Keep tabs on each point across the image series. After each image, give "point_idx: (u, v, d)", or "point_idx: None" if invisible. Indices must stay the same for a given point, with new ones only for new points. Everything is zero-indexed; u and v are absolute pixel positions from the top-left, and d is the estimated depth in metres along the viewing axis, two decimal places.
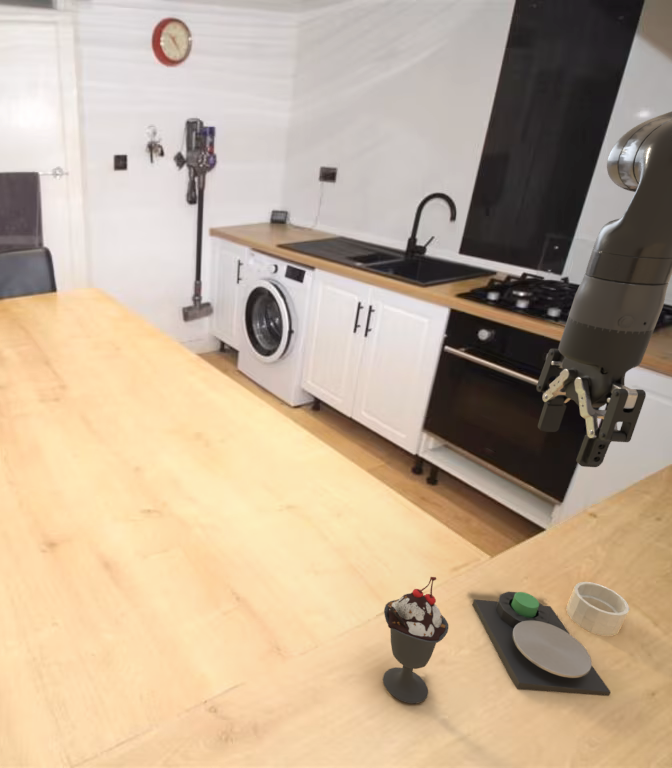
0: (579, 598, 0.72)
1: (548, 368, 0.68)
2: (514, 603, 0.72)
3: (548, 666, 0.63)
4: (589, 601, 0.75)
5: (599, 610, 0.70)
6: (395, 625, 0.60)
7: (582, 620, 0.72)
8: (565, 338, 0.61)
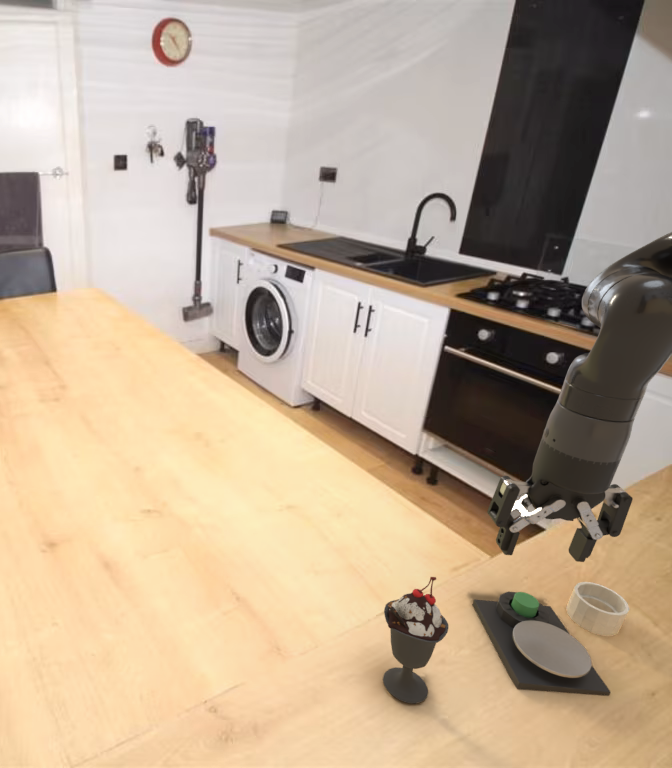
0: (579, 598, 0.72)
1: None
2: (514, 603, 0.72)
3: (548, 666, 0.63)
4: (589, 601, 0.75)
5: (599, 610, 0.70)
6: (395, 625, 0.60)
7: (582, 620, 0.72)
8: None
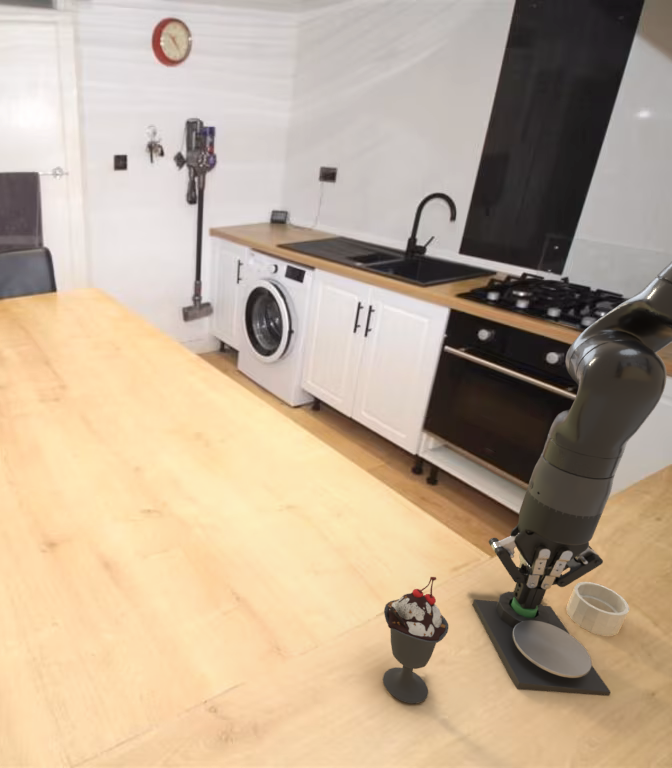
0: (579, 598, 0.72)
1: None
2: (513, 607, 0.72)
3: (548, 666, 0.63)
4: (589, 601, 0.75)
5: (599, 610, 0.70)
6: (395, 625, 0.60)
7: (582, 620, 0.72)
8: None
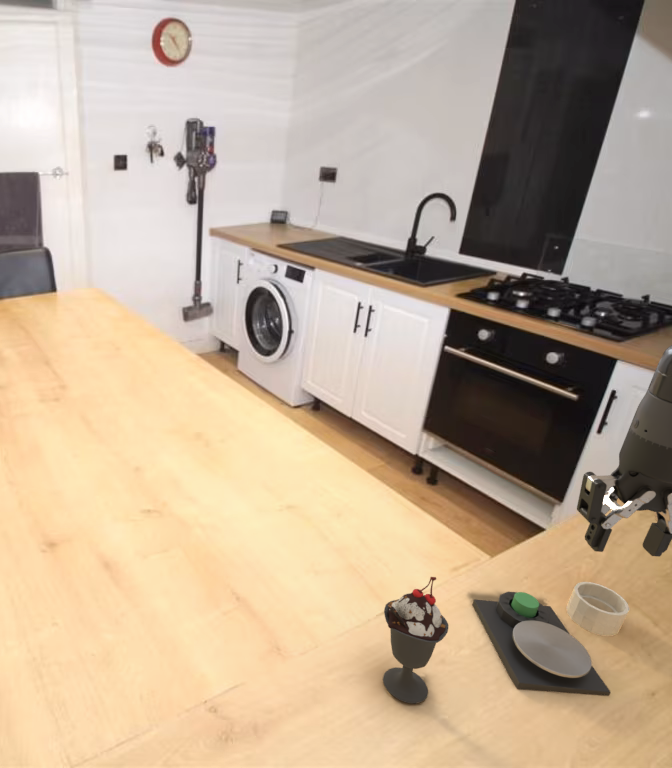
0: (579, 598, 0.72)
1: None
2: (514, 603, 0.72)
3: (548, 666, 0.63)
4: (589, 601, 0.75)
5: (599, 610, 0.70)
6: (395, 625, 0.60)
7: (582, 620, 0.72)
8: None
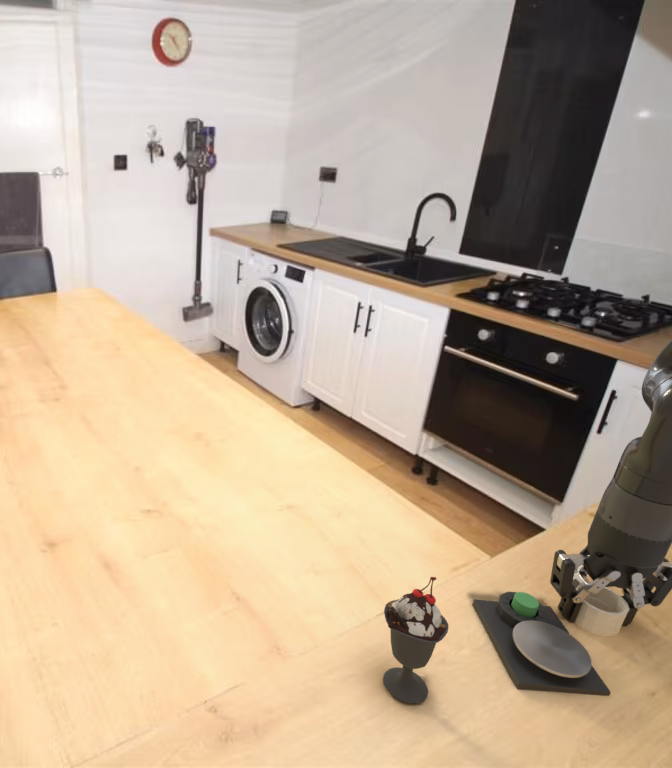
0: None
1: None
2: (514, 603, 0.72)
3: (548, 666, 0.63)
4: (589, 601, 0.75)
5: (599, 610, 0.70)
6: (395, 625, 0.60)
7: (582, 620, 0.72)
8: None
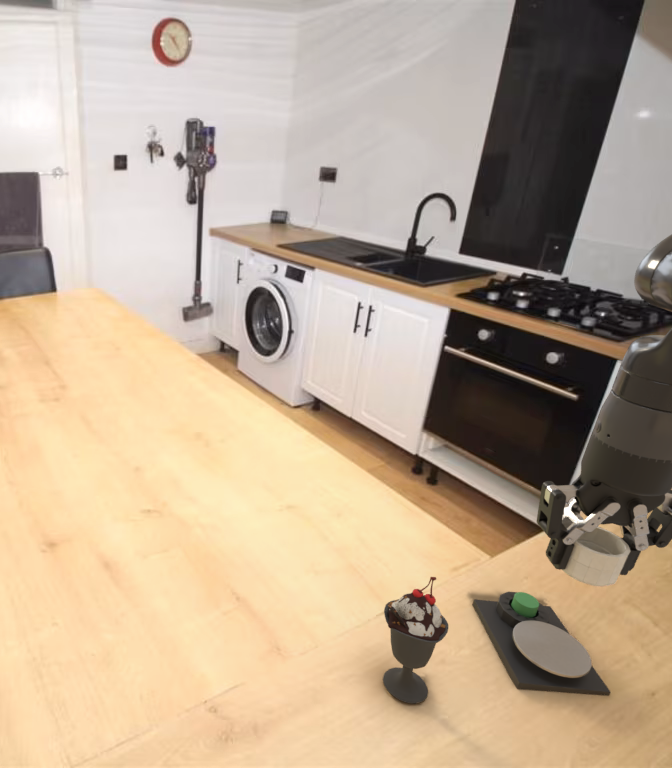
0: None
1: None
2: (514, 603, 0.72)
3: (548, 666, 0.63)
4: (583, 546, 0.63)
5: (594, 552, 0.58)
6: (395, 625, 0.60)
7: (575, 566, 0.60)
8: None
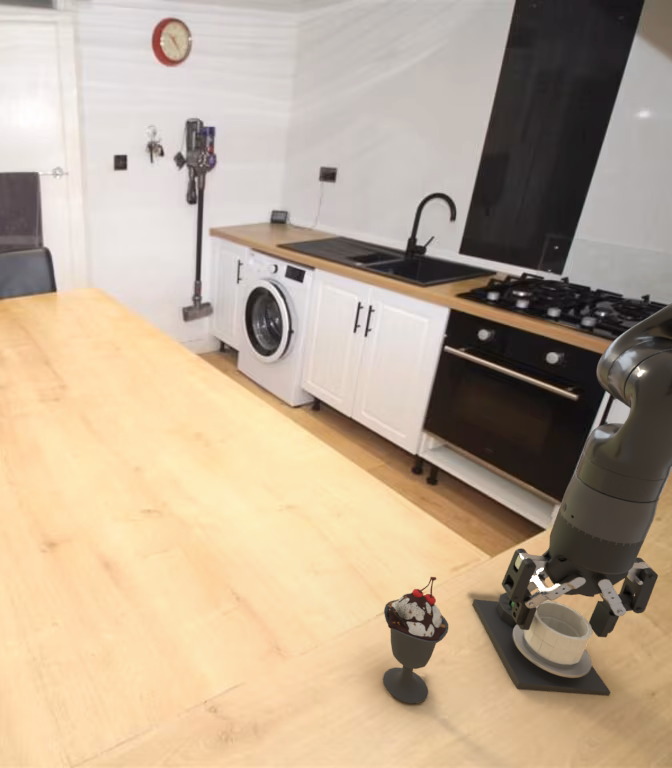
0: (537, 620, 0.64)
1: None
2: None
3: (548, 666, 0.63)
4: (550, 622, 0.67)
5: (558, 634, 0.62)
6: (395, 625, 0.60)
7: (541, 645, 0.64)
8: None
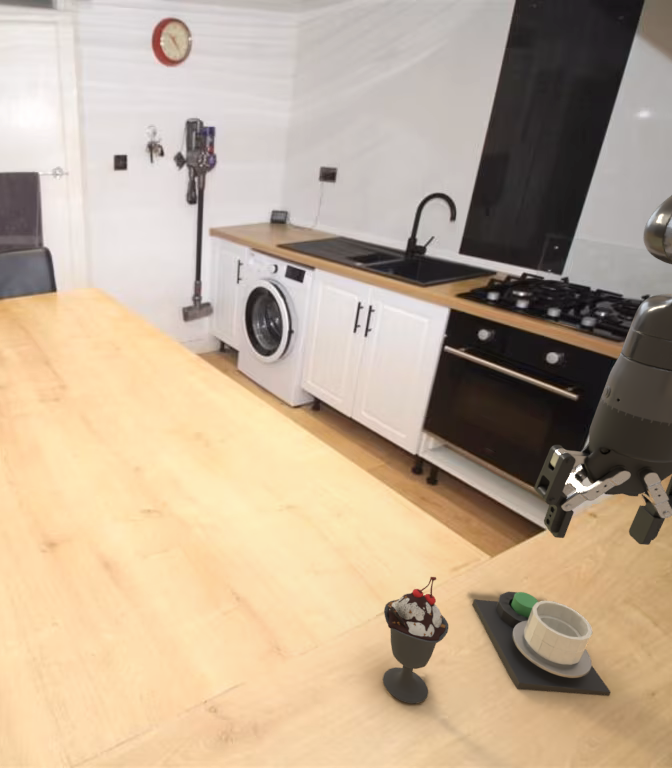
0: (537, 620, 0.64)
1: None
2: (514, 603, 0.72)
3: (548, 666, 0.63)
4: (550, 622, 0.67)
5: (558, 634, 0.62)
6: (395, 625, 0.60)
7: (541, 645, 0.64)
8: None
